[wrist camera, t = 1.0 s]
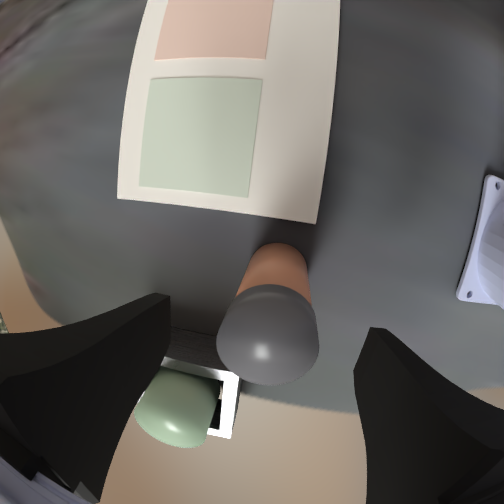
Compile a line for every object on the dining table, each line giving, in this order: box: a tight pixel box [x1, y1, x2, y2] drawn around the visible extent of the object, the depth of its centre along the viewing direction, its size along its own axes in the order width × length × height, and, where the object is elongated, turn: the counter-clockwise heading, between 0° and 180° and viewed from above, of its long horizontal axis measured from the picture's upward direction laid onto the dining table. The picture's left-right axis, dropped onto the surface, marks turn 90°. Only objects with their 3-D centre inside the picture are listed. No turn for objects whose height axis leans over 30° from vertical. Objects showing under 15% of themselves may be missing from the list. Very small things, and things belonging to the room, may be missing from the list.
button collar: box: [138, 327, 242, 438], centre depth 17 cm, size 7×7×3 cm
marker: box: [216, 243, 319, 385], centre depth 12 cm, size 3×3×7 cm
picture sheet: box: [117, 0, 340, 224], centre depth 12 cm, size 11×16×1 cm
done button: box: [134, 366, 220, 448], centre depth 15 cm, size 4×4×4 cm
